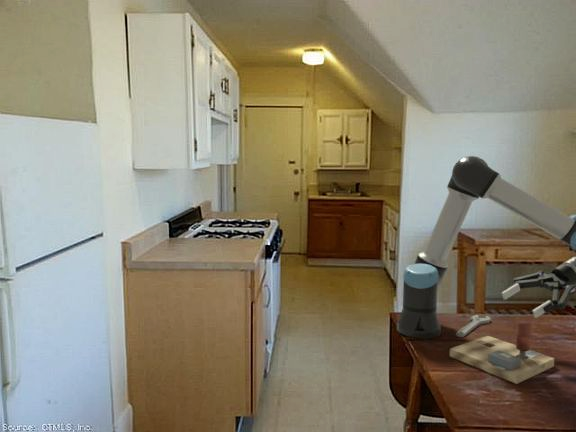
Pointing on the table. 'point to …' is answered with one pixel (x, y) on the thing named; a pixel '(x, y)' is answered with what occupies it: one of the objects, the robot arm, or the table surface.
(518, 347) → the awl
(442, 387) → the table surface
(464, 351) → the board
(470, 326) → the adjustable wrench
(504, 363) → the block
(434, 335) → the robot arm
